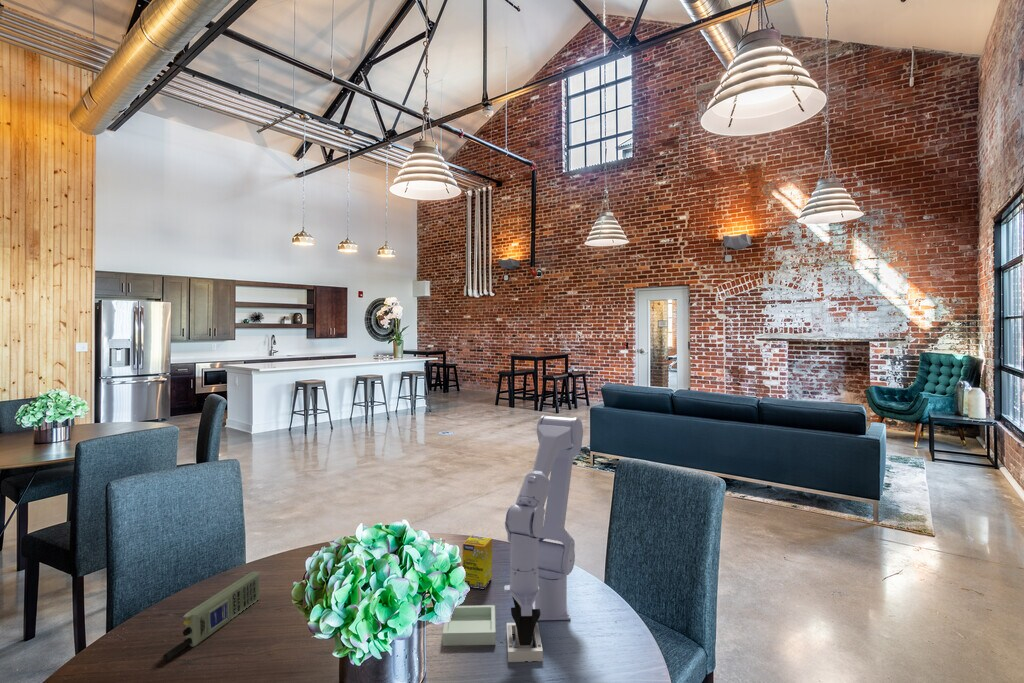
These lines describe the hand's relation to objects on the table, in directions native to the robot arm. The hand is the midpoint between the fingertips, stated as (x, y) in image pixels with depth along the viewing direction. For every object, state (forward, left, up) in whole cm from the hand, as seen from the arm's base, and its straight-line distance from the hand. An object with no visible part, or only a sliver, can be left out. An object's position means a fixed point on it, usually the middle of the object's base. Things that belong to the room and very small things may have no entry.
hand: (523, 633), depth 102 cm
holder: (0, 0, -3) cm, 3 cm away
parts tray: (-6, -11, -3) cm, 13 cm away
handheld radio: (-9, -65, -3) cm, 66 cm away
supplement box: (-27, -10, -3) cm, 29 cm away
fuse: (0, 0, -3) cm, 3 cm away
